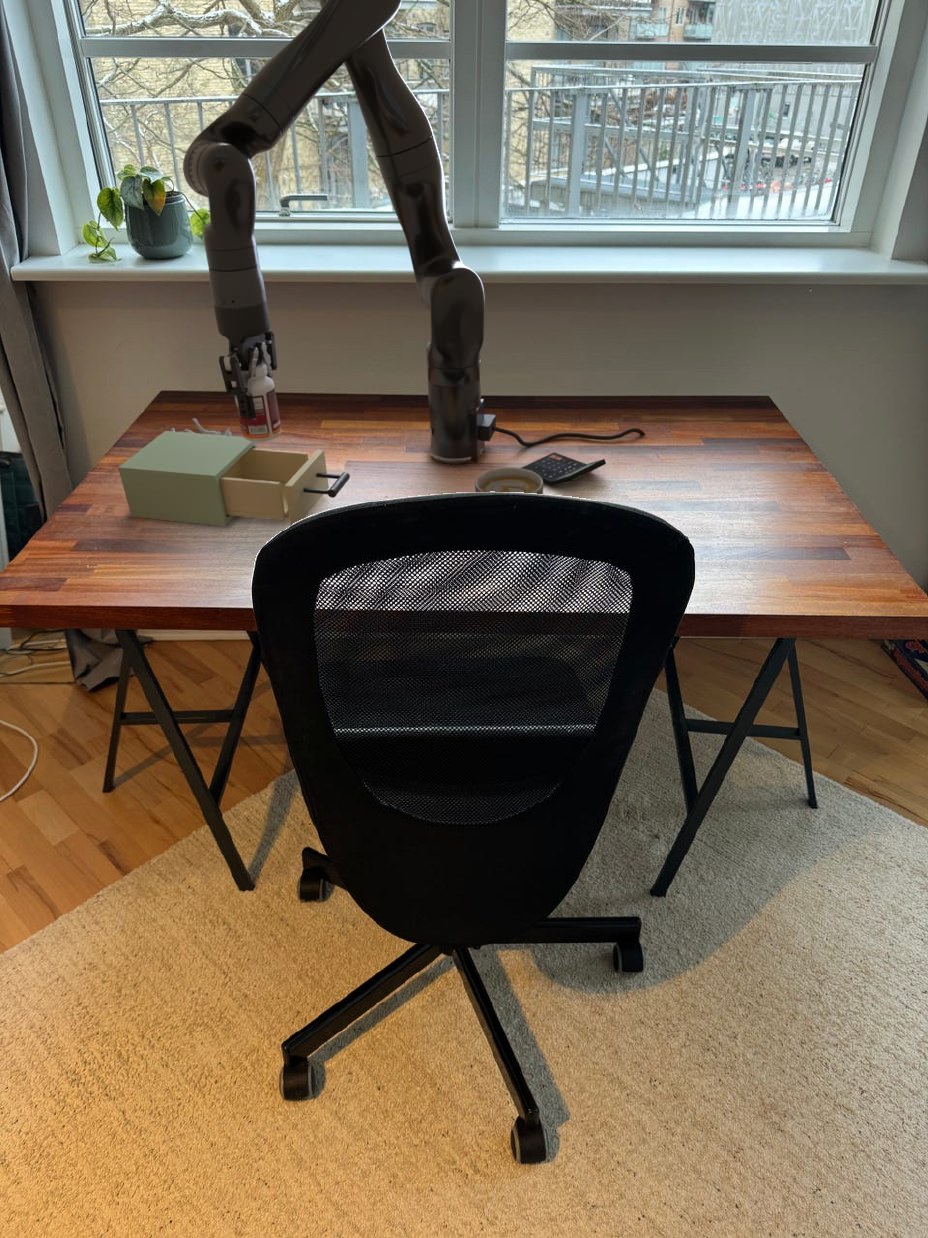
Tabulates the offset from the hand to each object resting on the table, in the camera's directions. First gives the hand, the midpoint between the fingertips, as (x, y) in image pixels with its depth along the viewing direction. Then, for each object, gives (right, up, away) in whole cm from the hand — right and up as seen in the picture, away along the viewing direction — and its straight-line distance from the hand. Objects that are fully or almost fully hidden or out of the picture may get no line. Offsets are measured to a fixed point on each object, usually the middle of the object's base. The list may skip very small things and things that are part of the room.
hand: (258, 409), depth 136 cm
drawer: (+2, -13, +9) cm, 16 cm away
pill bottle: (0, -4, +2) cm, 4 cm away
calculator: (+49, -7, +17) cm, 52 cm away
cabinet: (-13, -12, +12) cm, 22 cm away
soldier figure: (-17, 0, +31) cm, 36 cm away
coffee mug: (+38, -20, 0) cm, 43 cm away
